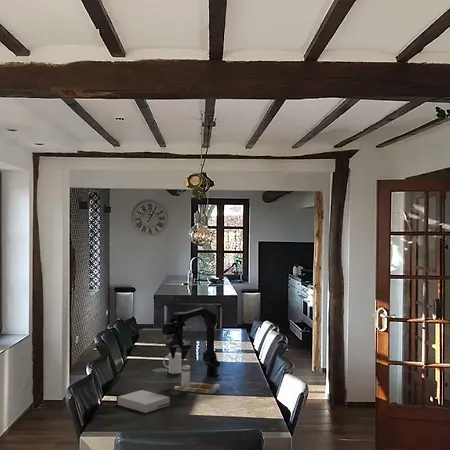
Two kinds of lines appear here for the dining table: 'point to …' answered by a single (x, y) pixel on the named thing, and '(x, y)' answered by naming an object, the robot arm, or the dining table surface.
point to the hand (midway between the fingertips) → (177, 359)
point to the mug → (174, 363)
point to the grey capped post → (185, 376)
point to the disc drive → (143, 400)
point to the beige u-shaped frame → (201, 390)
